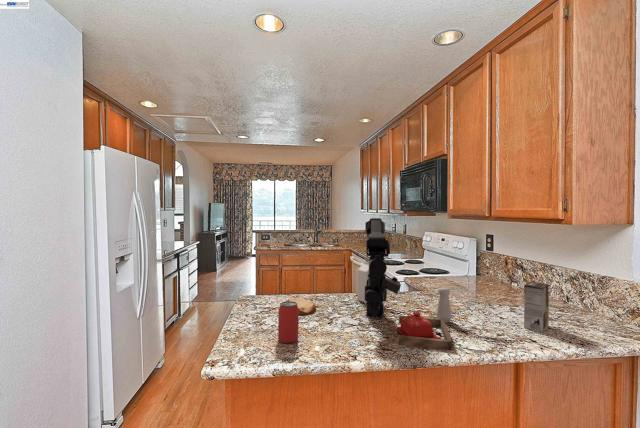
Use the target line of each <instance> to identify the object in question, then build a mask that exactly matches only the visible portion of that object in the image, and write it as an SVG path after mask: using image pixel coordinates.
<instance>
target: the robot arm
mask: <svg viewBox="0 0 640 428" xmlns="http://www.w3.org/2000/svg"><path fill="white" fill-rule="evenodd" d="M382 220H383V219H382V218H381V217H371V218H369V220H368V221H365V225H364V226H365V229H364V230H365V231H364V233H365V234H366V240H365V241H366V245H365V246H366V252H365V253H366V255H365V256H366V257H368V262H369V274H368V277H369V278H368V280H367V283H366V286H365V301H367V304H366V313H365V316H366V317H373V319H377V318H382V317H383V315H384V313H385V304H384V303H385V302H387V299H388V296H387V295H388V291H390V292H392V293H394V294H398V293H399V292H400V289H401V286H402V285H401V282H399V281H398V278H397V277H396V276H393V277H392V278H388V277H387V276H386V275H387V274H386V272H387V268H388V267H387V263H386V259H385V257H387V258H388V257H389V255H390V254H391V248H390V242H389V239H387V238H386V234H385V233H386V223H385V222H384V221H382Z"/></svg>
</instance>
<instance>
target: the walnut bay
mask: <svg viewBox="0 0 640 428" xmlns="http://www.w3.org/2000/svg"><path fill="white" fill-rule="evenodd" d="M405 316H406V315H403V314H402V315H399V316H398V323H400V324H401V321H402V318H403V317H405ZM425 318H426V319H428V320H429V321H430V323H431V324H432V327H439V328H440V329H441V333H442V335H443V339H442V338H441V339H440V338H438V339H431V338H422V337H412V336H403V335H402V334H398V335H397V338H398V339H397V341H398V342H397V344H398V345H402V346H413V347H418V348H419V347H420V348H429V349H438V350H444V351H445V350H447V351H453V341H452V338H451V335H450V333H449V332H450V331H449V330H448V327H447V325H446V323H445V322H444V319H437V318H436V317H435V318H433V317H431V318H430V317H425Z"/></svg>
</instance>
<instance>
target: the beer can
mask: <svg viewBox="0 0 640 428" xmlns="http://www.w3.org/2000/svg"><path fill="white" fill-rule="evenodd" d="M299 315H300V314H299V309H298V306H297V303H296V302H293V301H288V300H287V301H286V300H285V301H281V302H280V305H279V308H278V319H277V320H278V321H277V323H278V324H277V325H278V327H277V329H278V331H277V338H278V341H279V342H281V343H283V344H291V343H296V342H297V341H298V340H299Z"/></svg>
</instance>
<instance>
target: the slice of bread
mask: <svg viewBox="0 0 640 428" xmlns="http://www.w3.org/2000/svg"><path fill="white" fill-rule="evenodd" d="M287 301H293V302H296V303H297V306H298V309H299V315H300V316H310V315H313V314H314V313H315V312H316V311H317V305H316V303H315V302H313V301H311V300H310V301H309V300H306V299H301V298H298V297H297V298H295V297H289V298H287Z"/></svg>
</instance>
